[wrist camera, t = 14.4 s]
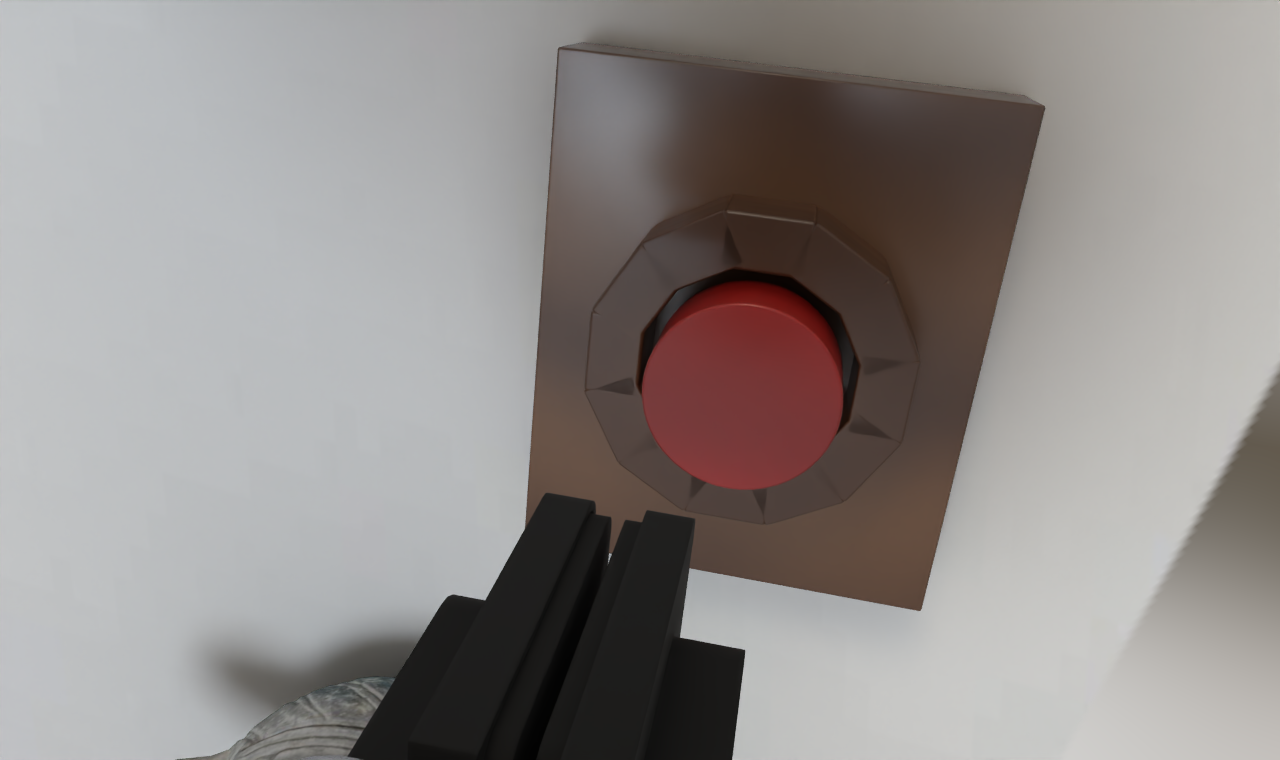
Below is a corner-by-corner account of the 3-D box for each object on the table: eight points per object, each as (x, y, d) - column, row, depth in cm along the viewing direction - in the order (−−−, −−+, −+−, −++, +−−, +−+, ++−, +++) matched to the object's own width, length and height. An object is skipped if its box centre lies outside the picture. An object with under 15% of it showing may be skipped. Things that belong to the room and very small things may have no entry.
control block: (581, 42, 23) (533, 51, 19) (1026, 95, 22) (1065, 115, 18) (546, 498, 28) (502, 575, 24) (914, 564, 26) (927, 657, 23)
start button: (665, 266, 21) (651, 289, 19) (858, 295, 20) (860, 320, 19) (645, 438, 22) (631, 472, 21) (824, 469, 22) (824, 506, 20)
